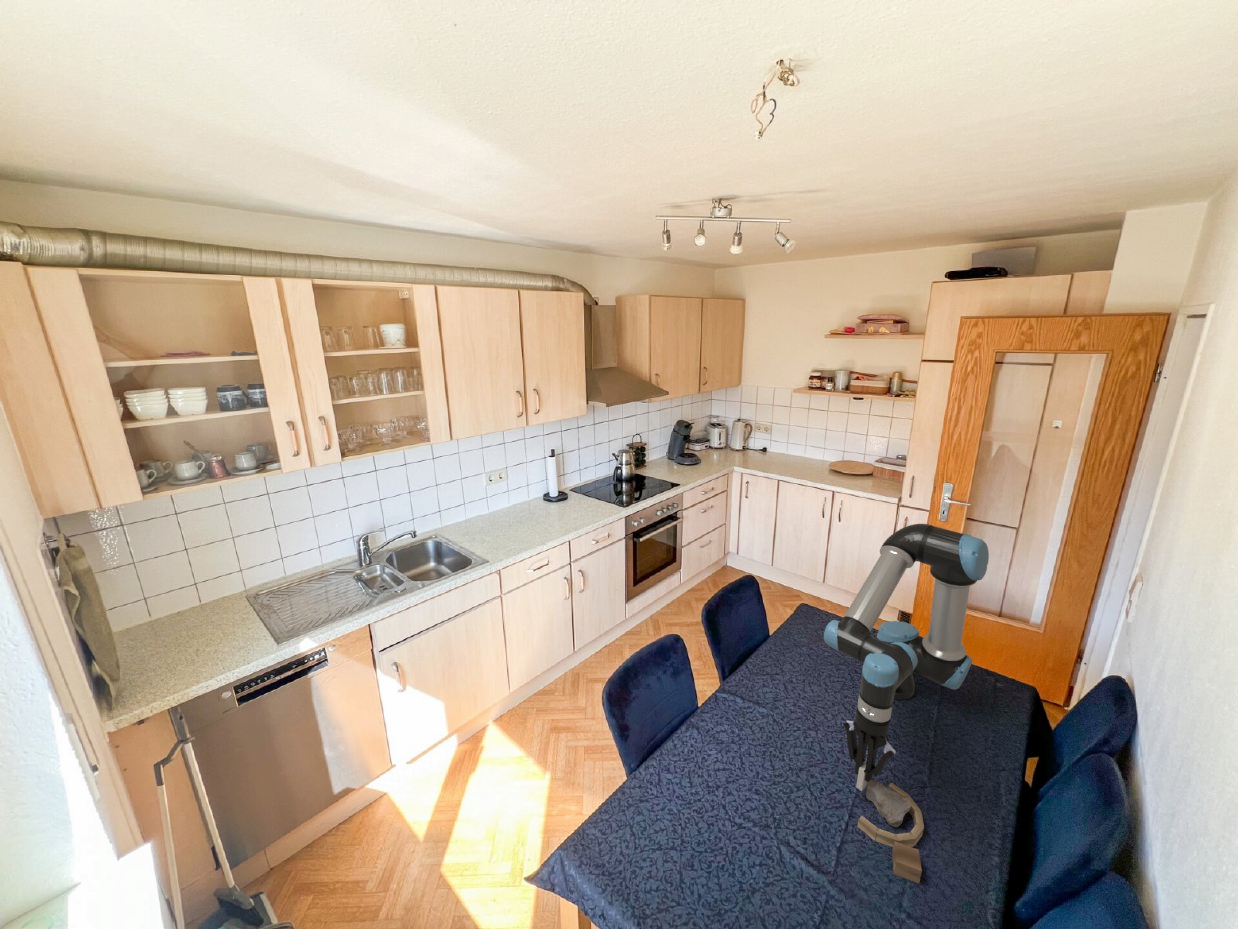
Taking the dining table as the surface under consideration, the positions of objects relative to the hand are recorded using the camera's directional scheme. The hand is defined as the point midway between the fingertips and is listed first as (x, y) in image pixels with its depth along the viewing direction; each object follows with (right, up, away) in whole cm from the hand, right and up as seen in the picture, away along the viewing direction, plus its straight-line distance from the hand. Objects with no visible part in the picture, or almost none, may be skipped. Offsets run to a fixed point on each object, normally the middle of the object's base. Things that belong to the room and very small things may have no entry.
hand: (861, 786), depth 129 cm
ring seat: (+5, -5, -6) cm, 10 cm away
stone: (+5, -5, -2) cm, 7 cm away
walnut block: (+2, -8, -16) cm, 18 cm away
